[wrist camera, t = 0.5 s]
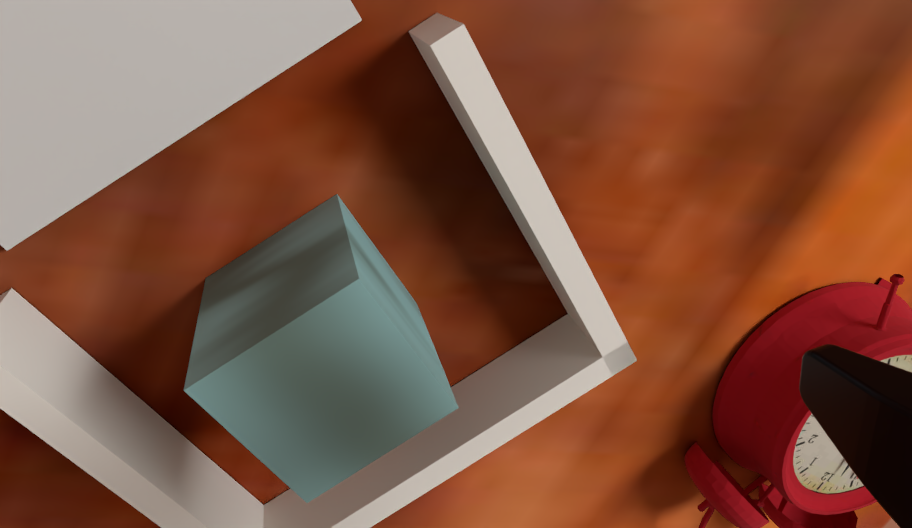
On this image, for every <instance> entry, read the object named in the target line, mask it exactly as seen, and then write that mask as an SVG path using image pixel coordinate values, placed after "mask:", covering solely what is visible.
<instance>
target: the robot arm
mask: <svg viewBox="0 0 912 528" xmlns="http://www.w3.org/2000/svg"><path fill="white" fill-rule="evenodd" d="M799 390H800V395H801V398H802V400H803V402H804V403H805V405H806V406H807V408H808V409H809V410H810V412H811V413H812V415H813V416H814V417H815V419H816V420H817V422H818V423H819V424H820V426H821V427H822V429H823V430H824V431H825V433H826V434H827V436H828V437H829V438H830V440H831V441H832V443H833V444H834V445H835V447H836V448H837V450H838V451H839V452H840V454H841V455H842V457H843V458H844V459H845V461H846V462H847V464H848V465H849V466H850V468H851V469H852V471H853V472H854V473H855V475H856V476H857V477H858V479H859V480H860V481H861V482H862V484H863V485H864V486H865V487H866V489H867V490H868V491H869V492H870V493H871V495H872V496H873V497H874V498H875V499H876V500H877V502H878V503H879V504H880V505H881V506H882V507H883V508H884V510H885V511H886V512H887V513H888V514H889V515H890V516H891V518H892V519H893V520H894V521H895V522H896V523H897V524H898V526H899V527H900V528H912V372H909V371H906V370H904V369H901V368H898V367H895V366H892V365H890V364H887V363H884V362H881V361H878V360H876V359H873V358H870V357H867V356H864V355H862V354H859V353H856V352H853V351H850V350H848V349H845V348H842V347H839V346H836V345H832V344H826V345H822V346H819V347H816V348H813V349H810V350H808V351H806V352H805V353H804V355H803V357H802V365H801V374H800V383H799Z"/></svg>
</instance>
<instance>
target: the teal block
mask: <svg viewBox="0 0 912 528" xmlns="http://www.w3.org/2000/svg"><path fill="white" fill-rule="evenodd" d="M184 391H185V392H186V393H187V394H188V395H189V396H190V397H191V398H192V399H193V400H195V401H196V402H197V403H198V404H199V405H200V406H201V407H202V408H203V409H204V410H205V411H207V412H208V413H209V414H210V415H211V416H212V417H213V418H214V419H215V420H216V421H218V422H219V423H220V424H221V425H222V426H223V427H224V428H225V429H226V430H227V431H228V432H230V433H231V434H232V435H233V436H234V437H235V438H236V439H237V440H238V441H239V442H240V443H242V444H243V445H244V446H245V447H246V448H247V449H248V450H249V451H250V452H251V453H253V454H254V455H255V456H256V457H257V458H258V459H259V460H260V461H261V462H262V463H263V464H265V465H266V466H267V467H268V468H269V469H270V470H271V471H272V472H273V473H274V474H276V475H277V476H278V477H279V478H280V479H281V480H282V481H283V482H284V483H285V484H286V485H288V486H289V487H290V488H291V489H292V490H293V491H294V492H295V493H296V494H297V495H298V496H300V497H301V498H302V499H303V500H304V501H305V502H306V503H308V502H310V501H312V500H313V499H315V498H316V497H318V496H320V495H321V494H323V493H324V492H326V491H327V490H329V489H331V488H332V487H334V486H335V485H337V484H339V483H340V482H342V481H343V480H345V479H347V478H348V477H350V476H351V475H353V474H355V473H356V472H358V471H359V470H361V469H362V468H364V467H366V466H367V465H369V464H370V463H372V462H374V461H375V460H377V459H378V458H380V457H382V456H383V455H385V454H386V453H388V452H390V451H391V450H393V449H394V448H396V447H397V446H399V445H401V444H402V443H404V442H405V441H407V440H409V439H410V438H412V437H413V436H415V435H417V434H418V433H420V432H421V431H423V430H424V429H426V428H428V427H429V426H431V425H432V424H434V423H436V422H437V421H439V420H440V419H442V418H444V417H445V416H447V415H448V414H450V413H452V412H453V411H455V410H456V409H458V408H459V407H458V405H457V402H456V400H455V397H454V395H453V392H452V390H451V387H450V385H449V382H448V380H447V377H446V375H445V372H444V370H443V367H442V365H441V363H440V360H439V358H438V355H437V353H436V350H435V348H434V345H433V343H432V340H431V338H430V335H429V333H428V330H427V328H426V325H425V323H424V320H423V318H422V315H421V313H420V311H419V308H418V306H417V303H416V302H415V300H414V299H413V298H412V296H411V295H410V294H409V292H408V291H407V289H406V288H405V287H404V285H403V284H402V283H401V281H400V280H399V279H398V277H397V276H396V274H395V273H394V272H393V270H392V269H391V268H390V266H389V265H388V263H387V262H386V261H385V259H384V258H383V257H382V255H381V254H380V252H379V251H378V250H377V248H376V247H375V246H374V244H373V243H372V241H371V240H370V239H369V237H368V236H367V235H366V233H365V232H364V230H363V229H362V228H361V226H360V225H359V224H358V222H357V221H356V219H355V218H354V217H353V215H352V214H351V213H350V211H349V210H348V208H347V207H346V206H345V204H344V203H343V202H342V200H341V199H340V197H339V196H338V195H337V194H336V195H335V196H333V197H331V198H330V199H328V200H327V201H325V202H324V203H322V204H321V205H319V206H317V207H316V208H314V209H313V210H311V211H310V212H308V213H307V214H305V215H303V216H302V217H300V218H299V219H297V220H296V221H294V222H293V223H291V224H289V225H288V226H286V227H285V228H283V229H282V230H280V231H279V232H277V233H275V234H274V235H272V236H271V237H269V238H268V239H266V240H264V241H263V242H261V243H260V244H258V245H257V246H255V247H254V248H252V249H250V250H249V251H247V252H246V253H244V254H243V255H241V256H240V257H238V258H236V259H235V260H233V261H232V262H230V263H229V264H227V265H226V266H224V267H222V268H221V269H219V270H218V271H216V272H215V273H213V274H212V275H210V276H208V277H207V278H206V279H205V284H204V289H203V294H202V299H201V304H200V310H199V315H198V320H197V325H196V330H195V335H194V340H193V345H192V350H191V355H190V360H189V366H188V371H187V376H186V381H185V386H184Z"/></svg>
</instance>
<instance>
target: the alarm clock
mask: <svg viewBox="0 0 912 528" xmlns="http://www.w3.org/2000/svg"><path fill="white" fill-rule="evenodd" d="M890 282H892V283H890ZM890 282H888V281H886V280H884V279H882V278H881V281H880V282H879V283H878V285H876V284H872V283H865V282H848V283H840V284H835V285H831V286H827V287H824V288H821V289H818V290H816V291H813V292H810V293H808V294H806V295H804V296H802V297H800V298H798V299H796V300H794V301H793V302H791V303H790V304H788V305H787V306H785V307H783V308H782V309H780V310H779V311H778V312H776V313H775V314H773V315H772V316H771V317H769V318H768V319H767V320H766V321H765V322H764V323H763V324H762V325H761V326H760V327H759V328H758V329H756V330H755V331H754V332H753V333H752V334H751V335H750V337H749V338H748V339H747V340H746V341H745V342H744V344H743V345H742V346H741V347H740V348H739V350H738V351H737V352H736V354H735V355H734V357H733V359H732V360H731V362H730V363H729V365H728V366H727V368H726V370H725V372H724V374H723V377H722V379H721V381H720V383H719V386H718V389H717V392H716V396H715V400H714V405H713V427H714V432H715V435H716V438H717V440H718V442H719V444H720V446H721V447H722V448H723V450H724V451H725V452H726V453H727V454H728V456H729V457H730V458H731V459H732V460H733V461H735V462H736V463H737V464H738V465H740V466H742V467H744V468H746V469H749V470H751V471H755V472H757V473H759V474H761V476H760V477H759V478H758V479H757V480H755V481H754V482H753V483H752V484H750V485H749V486H748V487H747V488H745V489H743V488H742V487H741V486H740V485H739V484H738V483H737V481H736V480H735V479H734V478H733V477H732V476H731V475H730V474H729V473H728V472H727V471H726V469H725V468H724V467H723V466H722V465H721V464H720V463H719V462H718V461H716V462H715V463H714V464H713V462H712V461H711V460H710V459H709V458H708V456H707V455H706V454H705V453H704V452H703V450H702V449H701V448H700V446H699V445H698V444H697V442H696V443H695V444H693V445H692V446H691V447H690V448H689V450H688V451H687V452H686V455H685V465H686V469H687V471H688V474H689V475H690V477H691V479H692V480H693V482H694V484H695V485H696V486H697V488H698V489H699V491H700V492H701V493H702V495H703V496H704V497H705V498H706V499H705V500H704V501H703V502H702V503H701V504H700V505H698V509H699V511H701V512H703V511H704V510H705V509H706V508H707V507H709V508H708V510H707V512H706V513H705V515H704V517H703V518H702V521H701V523H700V525H699V528H705V526H706V524H707V522H708V521H709V519H710V517H711V515H712V514H713V512H714V509H716V510H717V511H718V512H719V513H720V514H721V515H722V516H723V517H724V518H725V519H727V520H728V521H730V522H731V523H732V524H734V525H735V526H737V527H739V528H760V527H762V526H764V525H765V524H767V523H768V522H769V520H768V518H767V517H766V516H765V514H764V513H763V512H762V511H761V509H760V508H759V507H761V508H762V507H763V509H764V511H765V513H766V514H767V515H768V517H769V518H770V519H771V520H772V521H773V522H774V523H775V524H776V525H777V526H778V527H779V528H856V524H857V519H858V518H857V516H856V514H855V512H854V510H857V509H860V508H863V507H865V506H868V505H871V504H873V503H875V502H877V500H876V499H875V498H874V497H873V496H872V495H871V493H870V492H869V491H868V490H867V489H866V487H865V486H864V485H863V484H862V482H861V481H860V480H859V479H858V477H857V476H856V475H855V473H854V472H853V471H852V469H851V468H850V466H849V465H848V464H847V462H846V461H845V459H844V458H843V457H842V455H841V454H840V452H839V451H838V450H837V448H836V447H835V445H834V444H833V443H832V441H831V440H830V438H829V437H828V436H827V434H826V433H825V431H824V430H823V429H822V427H821V426H820V424H819V423H818V422H817V420H816V419H815V417H814V416H813V415H812V413H811V412H810V410H809V409H808V408H807V406H806V405H805V403H804V402H803V400H802V398H801V395H800V390H799V383H800V374H801V365H802V357H803V355H804V353H805V352H806V351H808V350H810V349H813V348H816V347H819V346H822V345H826V344H832V345H836V346H839V347H842V348H845V349H848V350H850V351H853V352H856V353H859V354H862V355H864V356H867V357H870V358H873V359H876V360H878V361H881V362H884V363H887V364H890V365H892V366H895V367H898V368H901V369H904V370H906V371H909V372H912V310H911V308H910V307H909V306H908V304H907V303H906V302H905V301H904V300H903V299H902V298H901V297H899V296H898V295H896V291H897V288H898V285H900V284H903V282H904V277H903V276H902V275H899V274H894V275H892V276H891V277H890ZM767 479H768V480H769V481H770V482H771V485H770V486H767V485H764V484H763V482H765V481H766V480H767ZM758 486H759V500H757V499H755V500H752V499H751V497H750V496H749V495H748V494H749V493H750V492H752V491H753V490H754V489H756V488H757V487H758Z"/></svg>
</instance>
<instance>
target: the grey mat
mask: <svg viewBox="0 0 912 528" xmlns="http://www.w3.org/2000/svg"><path fill="white" fill-rule="evenodd" d="M360 21H362V19H361V17H360V16H359V14H358V12H357V11H356V9H355V7H354V6H353V4H352V2H351V1H350V0H0V245H1V246H2V247H3V248H4V249H6V250H7V251H8V250H9V249H11V248H12V247H14V246H15V245H17V244H18V243H20V242H21V241H23V240H24V239H26V238H28V237H29V236H31V235H32V234H34V233H35V232H37V231H38V230H40V229H41V228H43V227H45V226H46V225H48V224H49V223H51V222H52V221H54V220H55V219H57V218H58V217H60V216H61V215H63V214H65V213H66V212H68V211H69V210H71V209H72V208H74V207H75V206H77V205H78V204H80V203H81V202H83V201H85V200H86V199H88V198H89V197H91V196H92V195H94V194H95V193H97V192H98V191H100V190H102V189H103V188H105V187H106V186H108V185H109V184H111V183H112V182H114V181H115V180H117V179H118V178H120V177H122V176H123V175H125V174H126V173H128V172H129V171H131V170H132V169H134V168H135V167H137V166H138V165H140V164H142V163H143V162H145V161H146V160H148V159H149V158H151V157H152V156H154V155H155V154H157V153H159V152H160V151H162V150H163V149H165V148H166V147H168V146H169V145H171V144H172V143H174V142H175V141H177V140H179V139H180V138H182V137H183V136H185V135H186V134H188V133H189V132H191V131H192V130H194V129H195V128H197V127H199V126H200V125H202V124H203V123H205V122H206V121H208V120H209V119H211V118H212V117H214V116H215V115H217V114H219V113H220V112H222V111H223V110H225V109H226V108H228V107H229V106H231V105H232V104H234V103H236V102H237V101H239V100H240V99H242V98H243V97H245V96H246V95H248V94H249V93H251V92H252V91H254V90H256V89H257V88H259V87H260V86H262V85H263V84H265V83H266V82H268V81H269V80H271V79H272V78H274V77H276V76H277V75H279V74H280V73H282V72H283V71H285V70H286V69H288V68H289V67H291V66H293V65H294V64H296V63H297V62H299V61H300V60H302V59H303V58H305V57H306V56H308V55H309V54H311V53H313V52H314V51H316V50H317V49H319V48H320V47H322V46H323V45H325V44H326V43H328V42H329V41H331V40H333V39H334V38H336V37H337V36H339V35H340V34H342V33H343V32H345V31H346V30H348V29H350V28H351V27H353V26H354V25H356V24H357V23H359V22H360Z"/></svg>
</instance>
